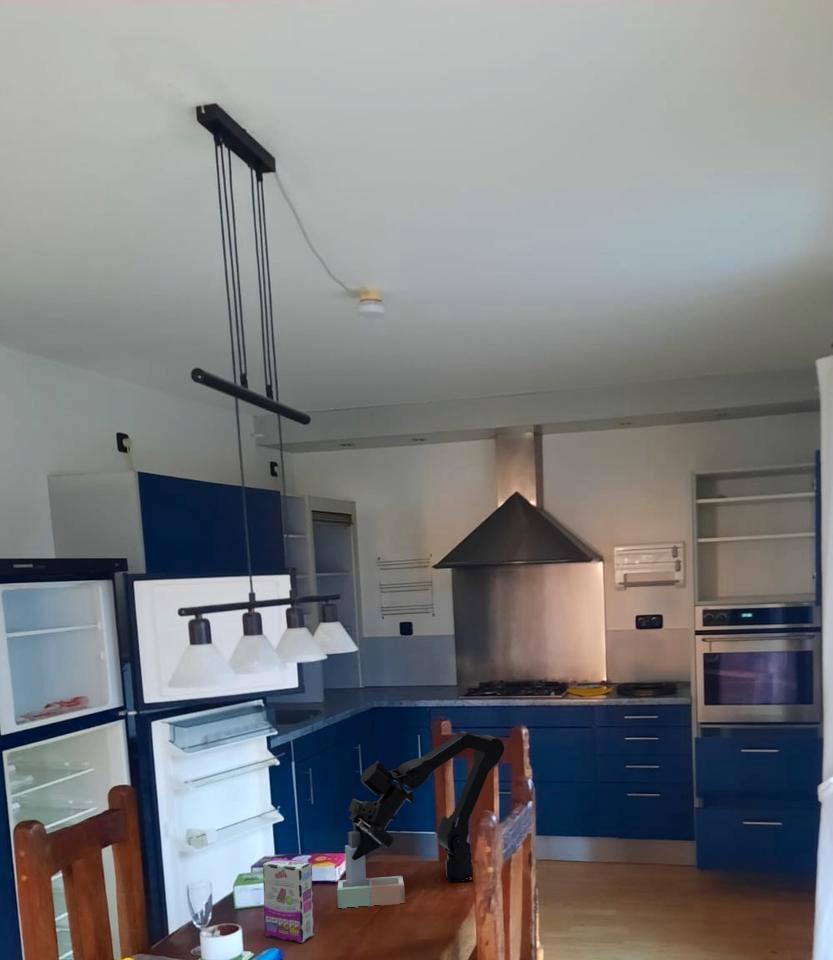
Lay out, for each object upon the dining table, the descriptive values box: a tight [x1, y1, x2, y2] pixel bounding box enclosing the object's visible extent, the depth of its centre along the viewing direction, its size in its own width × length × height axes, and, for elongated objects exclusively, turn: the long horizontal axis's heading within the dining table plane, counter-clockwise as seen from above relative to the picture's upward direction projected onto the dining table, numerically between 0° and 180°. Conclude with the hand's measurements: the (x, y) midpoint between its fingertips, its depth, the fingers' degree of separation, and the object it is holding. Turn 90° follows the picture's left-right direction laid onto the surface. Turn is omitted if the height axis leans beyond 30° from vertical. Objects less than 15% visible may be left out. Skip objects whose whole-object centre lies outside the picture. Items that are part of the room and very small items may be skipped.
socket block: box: [336, 875, 406, 909], centre depth 215 cm, size 10×17×4 cm, turn 94°
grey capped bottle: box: [344, 830, 367, 886], centre depth 216 cm, size 4×4×12 cm
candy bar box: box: [262, 857, 315, 944], centre depth 195 cm, size 11×5×16 cm, turn 62°
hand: (350, 856), depth 215 cm, fingers closed on grey capped bottle, 4 cm apart
